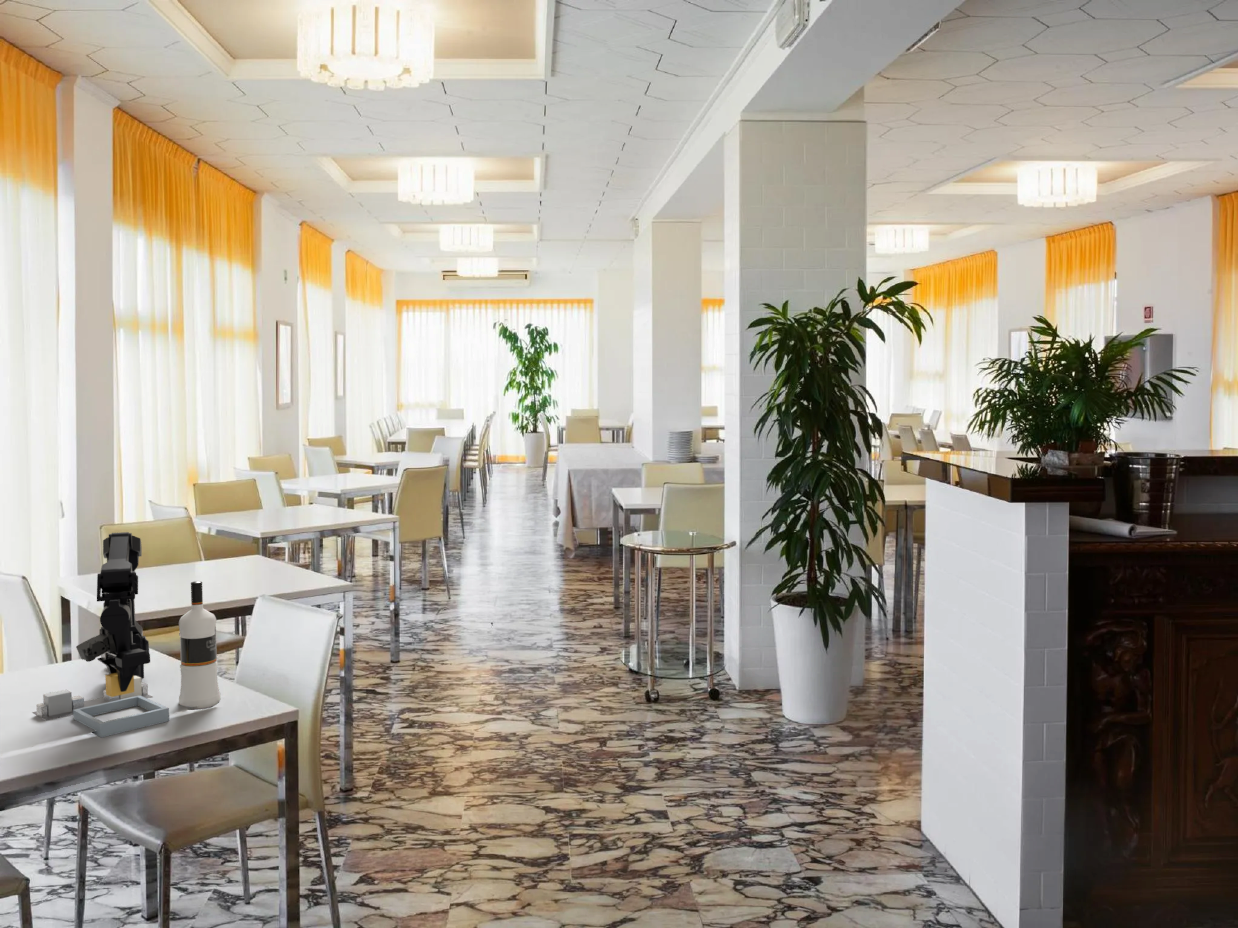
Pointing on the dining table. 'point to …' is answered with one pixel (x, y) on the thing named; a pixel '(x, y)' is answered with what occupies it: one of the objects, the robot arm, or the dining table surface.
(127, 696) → the block
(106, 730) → the tray
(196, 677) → the vodka
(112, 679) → the block
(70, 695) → the block
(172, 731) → the dining table surface
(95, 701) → the board
